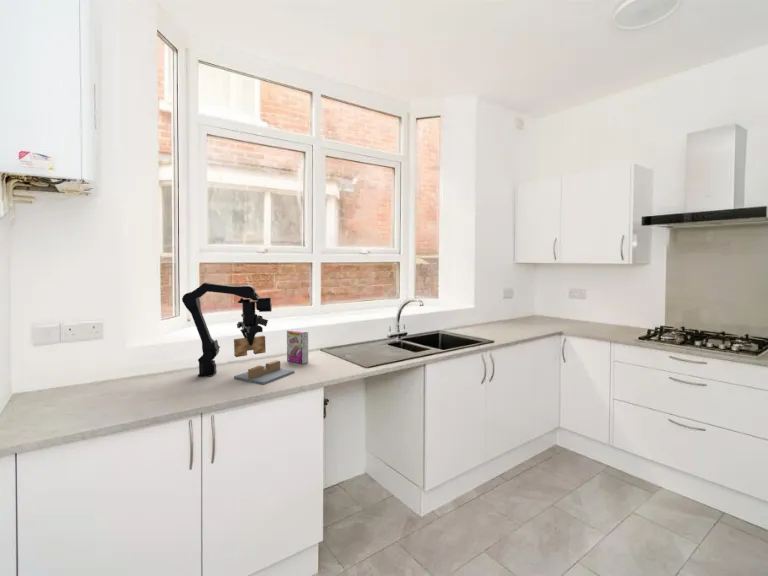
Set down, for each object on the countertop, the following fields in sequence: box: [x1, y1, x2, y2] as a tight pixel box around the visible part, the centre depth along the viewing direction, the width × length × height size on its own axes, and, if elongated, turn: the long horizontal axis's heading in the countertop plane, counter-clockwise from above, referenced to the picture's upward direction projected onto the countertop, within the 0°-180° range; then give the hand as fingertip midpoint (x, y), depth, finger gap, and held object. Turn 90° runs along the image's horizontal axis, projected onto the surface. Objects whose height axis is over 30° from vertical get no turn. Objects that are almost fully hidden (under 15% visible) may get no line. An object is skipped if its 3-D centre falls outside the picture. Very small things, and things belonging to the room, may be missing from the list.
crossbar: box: [233, 335, 267, 358], centre depth 190 cm, size 14×2×8 cm, turn 127°
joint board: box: [233, 359, 295, 385], centre depth 186 cm, size 20×18×5 cm
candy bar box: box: [286, 329, 309, 365], centre depth 210 cm, size 11×5×16 cm, turn 58°
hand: (250, 344), depth 190 cm, fingers closed on crossbar, 2 cm apart
